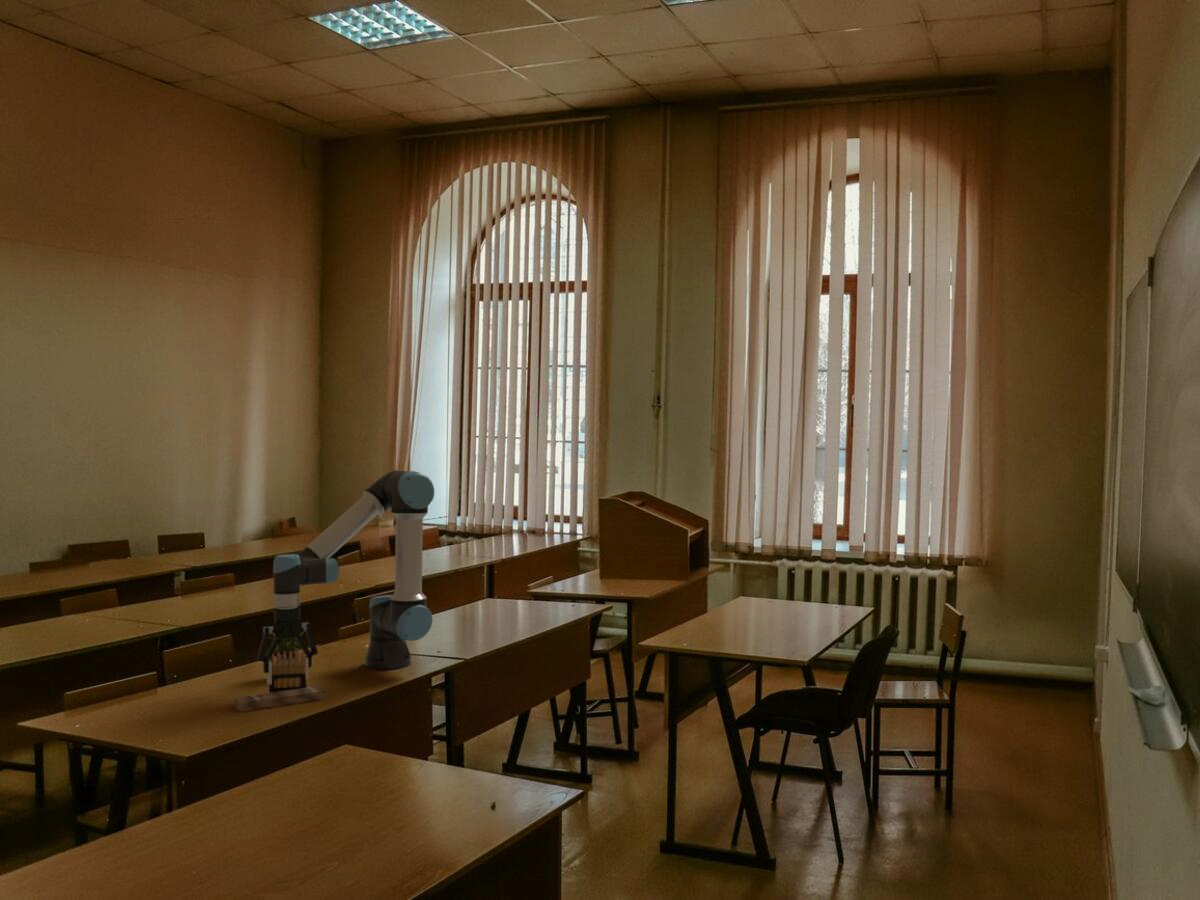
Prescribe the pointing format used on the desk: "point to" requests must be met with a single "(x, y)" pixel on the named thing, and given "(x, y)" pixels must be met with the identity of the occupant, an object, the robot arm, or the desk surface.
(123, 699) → the desk surface
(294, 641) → the house plant
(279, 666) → the ammunition clip
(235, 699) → the plank
